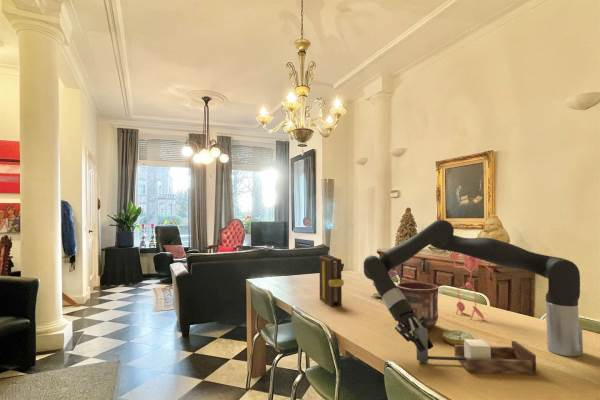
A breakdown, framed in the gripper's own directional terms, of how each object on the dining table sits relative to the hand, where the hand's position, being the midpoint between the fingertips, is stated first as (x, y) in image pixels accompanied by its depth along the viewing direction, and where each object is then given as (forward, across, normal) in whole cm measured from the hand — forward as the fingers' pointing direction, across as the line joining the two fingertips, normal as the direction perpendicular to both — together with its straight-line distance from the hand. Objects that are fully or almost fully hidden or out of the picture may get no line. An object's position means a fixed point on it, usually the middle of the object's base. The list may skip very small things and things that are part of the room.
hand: (427, 349), depth 113 cm
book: (-54, -25, -60) cm, 84 cm away
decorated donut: (0, -27, -8) cm, 28 cm away
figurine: (-11, -66, -18) cm, 70 cm away
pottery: (-15, -30, -22) cm, 40 cm away
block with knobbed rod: (+6, -7, 0) cm, 9 cm away
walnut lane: (+12, -17, +5) cm, 22 cm away
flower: (-50, -61, -57) cm, 98 cm away
